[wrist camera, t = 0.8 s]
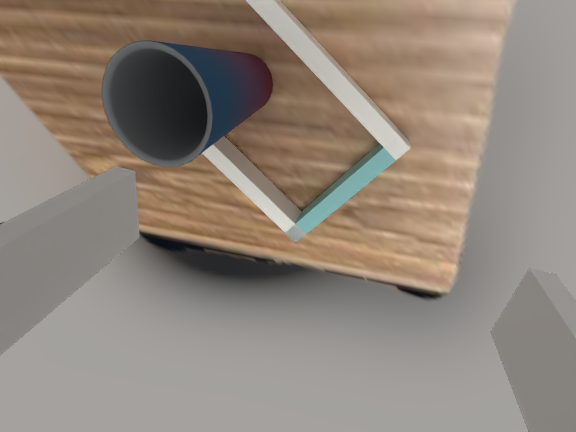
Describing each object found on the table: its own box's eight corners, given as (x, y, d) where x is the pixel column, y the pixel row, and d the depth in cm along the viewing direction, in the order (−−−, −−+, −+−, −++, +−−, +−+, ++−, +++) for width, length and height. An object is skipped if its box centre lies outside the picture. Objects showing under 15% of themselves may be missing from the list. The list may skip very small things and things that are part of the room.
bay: (175, 106, 35) (158, 111, 33) (263, -18, 29) (251, -25, 26) (301, 229, 38) (295, 242, 35) (408, 139, 31) (410, 148, 29)
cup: (272, 129, 34) (203, 182, 21) (208, 108, 35) (101, 146, 22) (290, 54, 31) (221, 62, 18) (218, 33, 31) (101, 24, 18)
